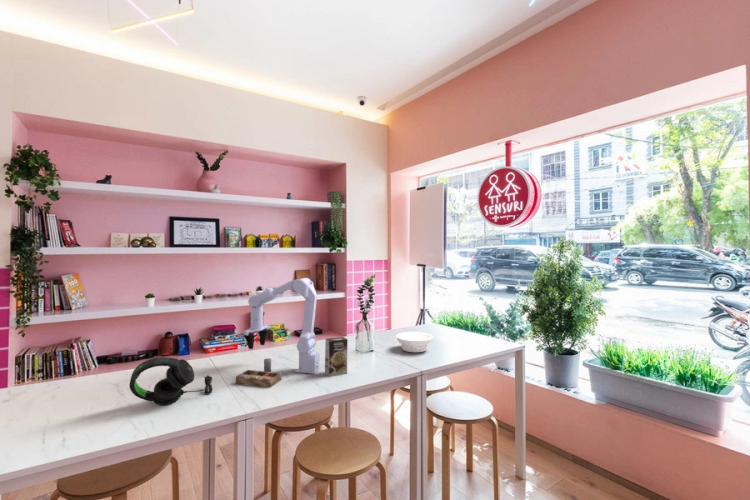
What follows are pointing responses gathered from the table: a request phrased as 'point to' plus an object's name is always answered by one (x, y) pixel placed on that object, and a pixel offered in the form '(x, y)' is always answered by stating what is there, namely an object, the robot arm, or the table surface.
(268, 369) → the peg
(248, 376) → the socket block
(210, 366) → the table surface
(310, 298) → the robot arm
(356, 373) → the table surface
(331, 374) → the coffee box
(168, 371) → the headset
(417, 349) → the bowl
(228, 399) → the table surface
